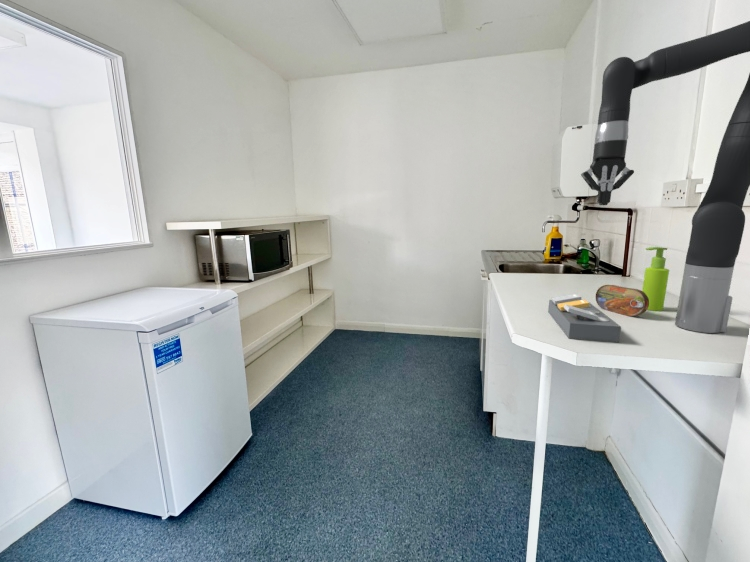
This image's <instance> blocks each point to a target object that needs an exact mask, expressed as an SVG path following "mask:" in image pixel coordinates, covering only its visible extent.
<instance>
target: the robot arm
mask: <svg viewBox="0 0 750 562" xmlns="http://www.w3.org/2000/svg"><path fill="white" fill-rule="evenodd" d="M749 52H750V20H749V21H746V22H742V23H740V24H737V25H735V26H732V27H730V28H726V29H723V30H720V31H717V32H714V33H711V34H708V35H705V36H700V37H698V38H695V39H692V40H688V41H685V42H681V43H677V44H673V45H670V46H667V47H664V48H661V49H657V50H655V51H653V52H651V53H649V55H648V56H646V57H644V58H641V59H639V60H636V61H634V60H633V59H632V58H630V57H627V56H620V57H617V58H615V59H613V60H612V61H610V62H609V64H608V65H607V66H606V67H605V69H604V71H603V74H602V87H601V101H600V102H601V103H600V107H599V112H598V119H597V126H596V127H597V128H596V132H595V136H594V146H593V154H592V155H593V156H592V162H591V164H590V165H589V168H588V169H587V170H585V171H583V172H582V173H581V174H580V175H581V176H580V177H581V178H582V179H583V180H584V181H585V183H586V184H587V185H588V186H589V189H591V190H592V191H597V202H596V203H597V204H598V205H599V206H607V205H608V204H609V203H611V198H612V192H613V191H614V190H618V189H620V188H621V187H622V186H623V185H624V184H625V183H626V182H627V180H629V179H630V177H632V175H633V174H634V173H635V171H634V170H633V169H630V168H629V167H627V163H626V161H625V159H626V153H627V146H628V145H627V144H628V139H629V122H630V121H629V120H630V112H631V96H632V92H633V90H634V89H636V88H639V87H642V86H645V85H647V84H649V83H652V82H655V81H661V80H665V79H669V78H673V77H676V76H680V75H684V74H687V73H691V72H694V71H697V70H699V69H702V68H705V67H708V66H709V65H712V64H715V63H717V62H720V61H723V60H726V59H729V58H731V57H734V56H738V55H741V54H746V53H749ZM593 175H594V177H595V178H596V179H597V181H595V178H593ZM619 175H621V176H620V177H619V178H618V179H617V181H616V178H617V177H618V176H619ZM707 187H708V188H707V190H706V192H705V194H704V196H703V198H702V200H701V202H700V204H699V205H698V207H697V209H696V211H695V212H694V213H693V215H692V219H691V231H690V237H689V238H690V239H689V243H688V247H687V252H686V257H685V263H684V268H683V275H682V280H681V285H680V293H679V298H678V304H677V310H676V316H675V321H674V325H675V326H676V327H678V328H681V329H684V330H688V331H691V332H696V333H704V334H705V333H706V334H718V333H726V332H727V328H728V322H729V317H730V313H731V308H732V304H733V303H732V302H733V296H731V295H729V293H730V289H731V284H732V281H733V280H732V279H733V274H734V270H735V269H734V268H735V265H736V261H737V257H738V255H739V253H740V248H741V247H740V246H741V244H742V239H743V234H744V230H745V224H746V215H745V212H744V211H743V206H744V203H745V200H746V197H747V193H748V191H749V188H750V73H749V74H748V78H747V81H746V83H745V85H744V88H743V90H742V91H741V94H740V96H739V98H738V100H737V102H736V105H735V107H734V110H733V112H732V114H731V117H730V119H729V122H728V124H727V126H726V129H725V131H724V134H723V137H722V140H721V142H720V145H719V148H718V152H717V155H716V159H715V164H714V167H713V172H712V176H711V180H710V183H709V185H708V186H707Z"/></svg>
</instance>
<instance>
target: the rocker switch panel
mask: <svg viewBox="0 0 750 562" xmlns="http://www.w3.org/2000/svg"><path fill="white" fill-rule="evenodd" d="M589 305H590V306H589V307H583V308H580V309H583V310H587V311H590V312H593V313H594V314H596V315H597V316H598V319H597V320H594V319H590V318H587V317H584V316H580V315H577V314H574V313H570V312H568V311H567V310H565V311H561V310H560V309H559V308H558V305H557V304H556V305H555V304H554V303H553V301H552V299H549V300H548V309H547V313H548V314H549V316H551V318H552V320H554V321H555V323H556V324H557V325H558V327H559V328H560V330H562V331H561V332H563V333H564V335H565V336H566V337H567V338H568V339H571V340H584V341H585V340H586V341H594V342H596V341H597V342H608V343H620V337H621V329H622V326H621V325H619V324H618V322H616V321H614V320H613V319H612V318H611V317H610V316H608V315H606V314H605V313H604V312H603V311H602V310H600V309H599V308H597V307H596V306H595V305H593V304H592V303H591V302H589Z"/></svg>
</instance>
